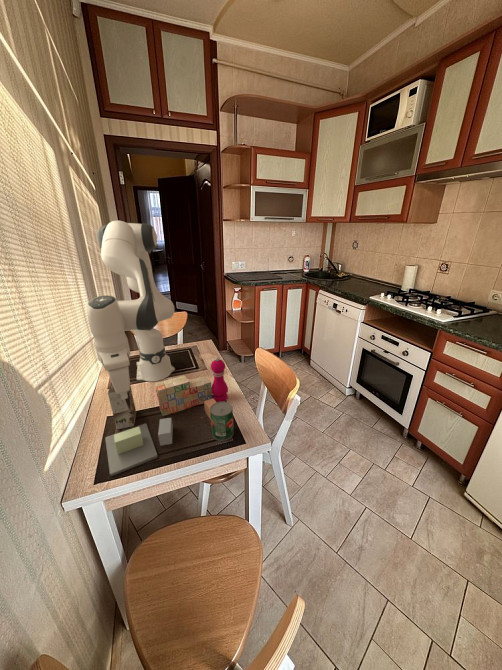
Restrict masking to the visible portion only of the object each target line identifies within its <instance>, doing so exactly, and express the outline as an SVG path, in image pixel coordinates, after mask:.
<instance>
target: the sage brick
mask: <svg viewBox="0 0 502 670" xmlns="http://www.w3.org/2000/svg"><path fill="white" fill-rule="evenodd" d="M135 427H136V428H134V427H132V428H133V429H131V428H129V429H130V430H128V429H126V430H127V431H125V430H123V431H124V432H122V431H120V432H121V433H119V432H117V433H118V434H116V433H114V434H115V435H114V440H115V445H116V449H117V452H118V454H120V453H123V452H126V451H129V450H131V449H134V448H137V447H139V446H142V445H144V444H143V440H142V435H141V431H140V428H139V427H137V426H135Z"/></svg>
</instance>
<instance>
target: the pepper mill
mask: <svg viewBox="0 0 502 670" xmlns="http://www.w3.org/2000/svg"><path fill="white" fill-rule="evenodd" d="M210 369H211V371H212V372H211V373H212V376H213V383H211V388H212V399H214V400H215V401H216V402H222V401H223V402H227V400H228V392H229V387H228V384H227V383H226V381H225V377H224V375H225V369H226V364H225V362H224V360H222V359H221V358H220V357H219V356H216V357H215V359H214V360H213V361H212V362H211V363H210Z"/></svg>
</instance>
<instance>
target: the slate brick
mask: <svg viewBox="0 0 502 670" xmlns="http://www.w3.org/2000/svg"><path fill="white" fill-rule="evenodd" d="M173 431H174V427H173V420H172V417H167V418H159V424H158V434H157V435H158V442H159V446H161V447H162V446H167V445H172V444H173V436H174V432H173Z"/></svg>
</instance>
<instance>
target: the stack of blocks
mask: <svg viewBox="0 0 502 670" xmlns="http://www.w3.org/2000/svg"><path fill="white" fill-rule="evenodd" d="M154 385H155V389H156V390H155V391H156V397H157V401H158V407H159V411H160V412H161V417H164V416H168V415H171V413H172V414H174V413H177V412H181V411H184V410H186V409H190V408H192V407H195V406H200V405H204V401H207V400H210V399H213V394H212V382H211V380H210V379H209V378H208V377H207V375H205V376H204V375H203V376H201V377H197V378H193V379H188V378H187V376H186V374H185V375H184V374H183V375H180V376H177V377H174V378H169V379H166V380H160V381H157V382H155V383H154Z"/></svg>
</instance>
